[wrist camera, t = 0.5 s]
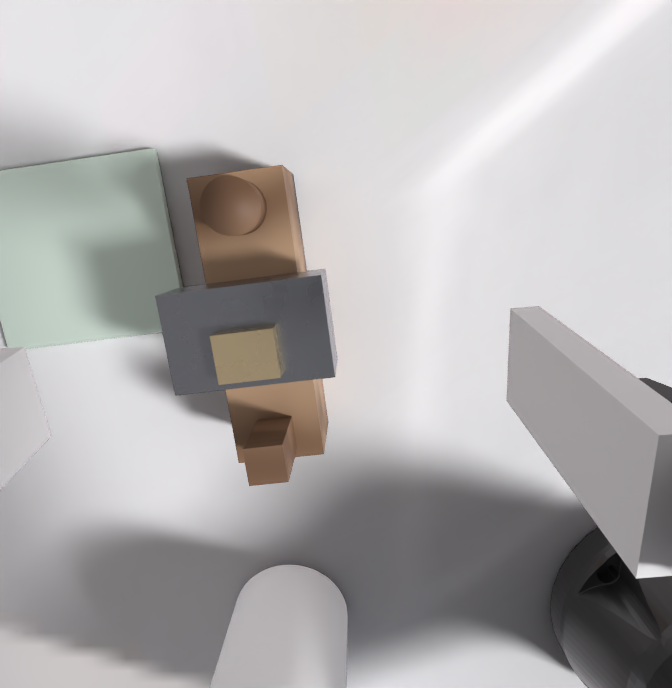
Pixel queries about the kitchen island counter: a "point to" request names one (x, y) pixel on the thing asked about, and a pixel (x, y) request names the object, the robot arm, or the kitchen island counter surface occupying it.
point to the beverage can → (285, 633)
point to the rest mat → (84, 250)
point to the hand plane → (252, 262)
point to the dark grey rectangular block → (248, 332)
